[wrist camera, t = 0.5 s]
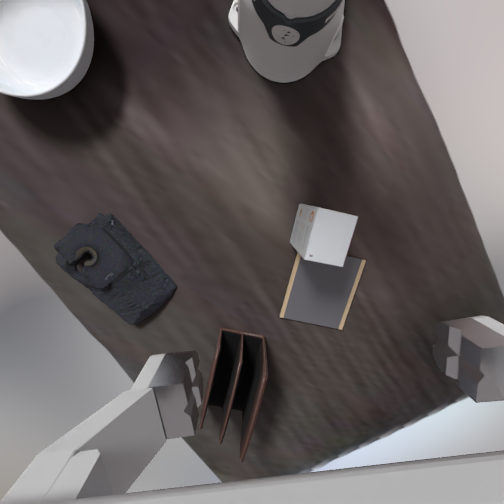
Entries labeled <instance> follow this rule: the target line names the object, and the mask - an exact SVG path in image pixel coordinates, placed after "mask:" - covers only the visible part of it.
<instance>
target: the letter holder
mask: <svg viewBox="0 0 504 504" xmlns="http://www.w3.org/2000/svg"><path fill="white" fill-rule="evenodd" d="M267 375H268V371H267V356H266V345H265V336H263V335H259V334H254V333H249V332H244V331H239V330H234V329H229V328H224V327H221V328H220V333H219V337H218V341H217V345H216V350H215V354H214V358H213V363H212V367H211V371H210V375H209V380H208V384H207V389H206V393H205V397H204V403H203V409H202V415H201V422H200V429H201V428H202V427H203V422H204V418H205V415H206V411H207V406H208V405H213V406H219V407H222V408H223V411H222V421H221V430H220V438H219V443H220V444H221V443H222V441H223V438H224V435H225V431H226V428H227V424H228V420H229V417H230V413H231V409H236V410H241V411H242V427H241V442H240V443H241V444H240V462H242V461H244V458H245V455H246V452H247V449H248V446H249V443H250V440H251V437H252V433H253V430H254V426H255V423H256V419H257V416H258V412H259V408H260V405H261V401H262V398H263V394H264V390H265V386H266V382H267Z"/></svg>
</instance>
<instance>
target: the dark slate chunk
mask: <svg viewBox="0 0 504 504" xmlns="http://www.w3.org/2000/svg"><path fill="white" fill-rule="evenodd" d="M54 247H55V249H56V250H57V251H58V252H59V253H58V255H57V256H56V262H57V264H58V265H60V267H61V268H62V269H63V270H64V271H65V272H67V273H68V274H69V275H70V276H72V277H73V278H74V279H76V280H77V281H78V282H80V283H81V284H83V285H84V286H85V287H87V288H89V289H90V290H91V291H92V292H93V295H95V296H96V297H97V298H98V299H99V300H100V301H102V302H103V303H105V304H106V305H107V306H108V307H109V308H110V309H112V310H114V311H115V312H116V313H117V314H118V315H119V316H120V317H121V318H122V319H123V320H125V321H126V322H128V323H129V324H131V325H133V324H136V323H139V322H141V321H143V320H144V319H146V318H147V317H148V316H150V315H152V314H153V313H154V312H155V311H156V310H157V309H158V308H160V307H161V306H162V305H163V304H164V303H165V302H166V300H167V299H168V298H170V297H171V296H172V294H173V293H174V289H175V288H176V287H177V286H176V284H175V283H174V282H173V280H172V279H171V277H169V276H168V275H167V274H166V273H165V272H164V271H163V269H162V268H161V267H160V265H159V264H158V263H157V262H156V261H155V260H154V259H153V257H152V256H151V255H150V254H149V253H148V252H147V251H146V250H145V249H144V248H143V247H142V245H141V244H140V243H139V242H138V241H137V240H136V239H135V238H134V237H133V236H132V235H131V234H130V233H129V232H128V231H127V230H126V229H125V227H124V226H123V225H122V224H121V223H120V222H119V221H118V220H117V219H116V218H115V217H114V215H112V214H108V215H107V216H104V215H102V214H101V213H99V214H98V216H97V217H96V218H95V219H94V220H93V221H92V222H91V223H89V224H80V223H78V224H76V225H75V226H74V227H73V228H72V229H71V231H70V232H69V233H68V234H67V235H66V236H65V237H64V238H63V239H62V240H59V241H58V243H57V244H55V245H54ZM88 253H89V254H91V256H92V258H91V259H87V260H86V261H85V262H84V267H83V269H82V271H81V272H80V271H78V270H77V267H76V264H77V262H78V261H79V260H80V259H82V258H84V257H85V256H86V255H87V254H88Z"/></svg>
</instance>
